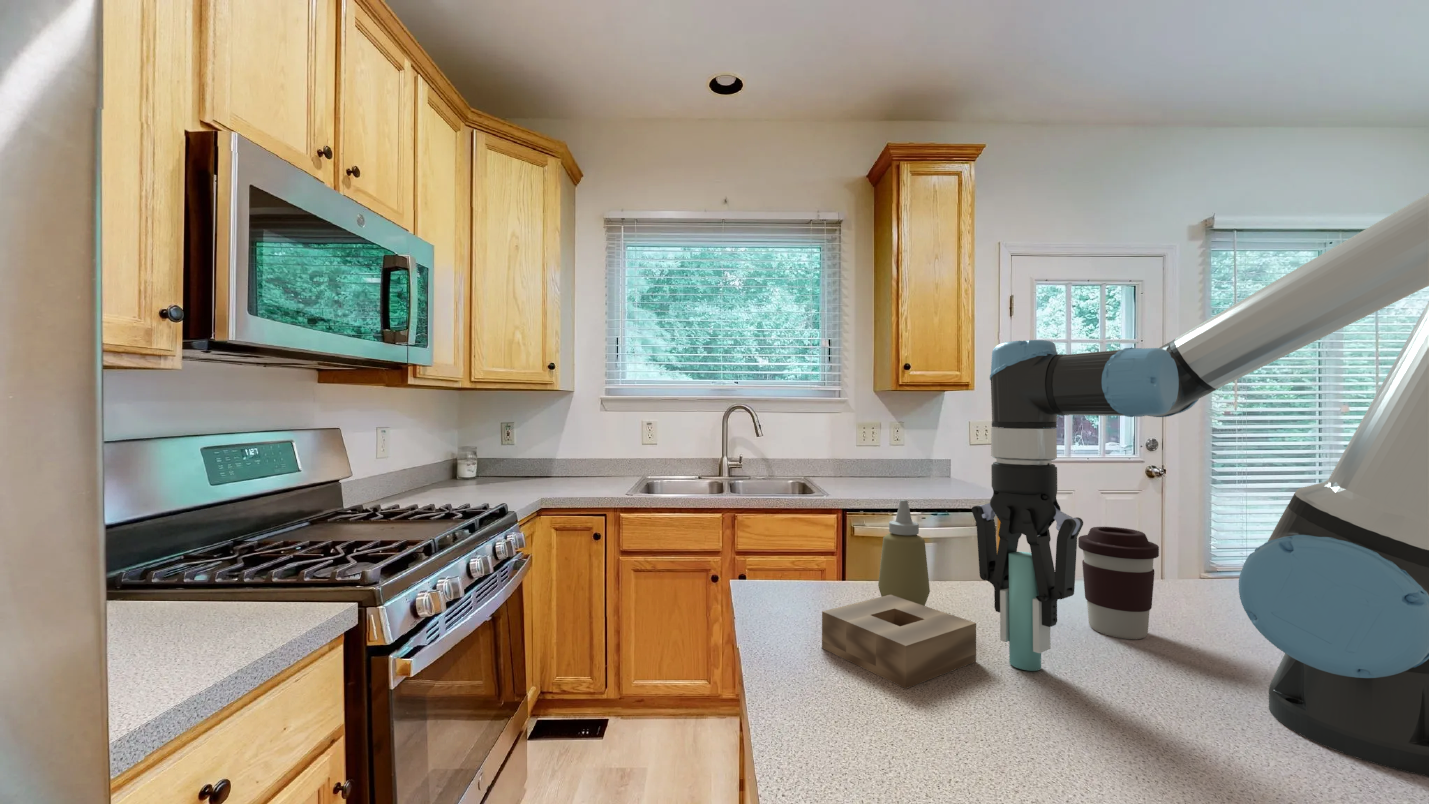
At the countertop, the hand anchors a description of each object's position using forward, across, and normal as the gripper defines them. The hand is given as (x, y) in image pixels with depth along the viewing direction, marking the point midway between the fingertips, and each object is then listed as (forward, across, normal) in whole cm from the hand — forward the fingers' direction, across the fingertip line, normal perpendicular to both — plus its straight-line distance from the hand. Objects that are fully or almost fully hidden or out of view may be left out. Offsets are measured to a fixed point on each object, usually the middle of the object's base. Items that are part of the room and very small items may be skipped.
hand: (1025, 644), depth 75 cm
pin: (+3, 0, 0) cm, 3 cm away
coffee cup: (+3, -1, -24) cm, 24 cm away
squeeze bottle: (+3, +22, -4) cm, 23 cm away
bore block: (+3, +11, +11) cm, 16 cm away
